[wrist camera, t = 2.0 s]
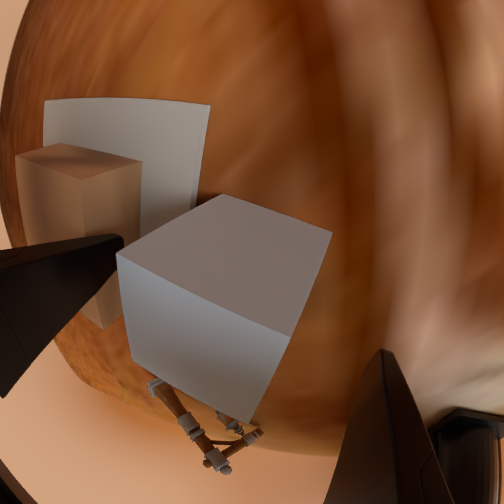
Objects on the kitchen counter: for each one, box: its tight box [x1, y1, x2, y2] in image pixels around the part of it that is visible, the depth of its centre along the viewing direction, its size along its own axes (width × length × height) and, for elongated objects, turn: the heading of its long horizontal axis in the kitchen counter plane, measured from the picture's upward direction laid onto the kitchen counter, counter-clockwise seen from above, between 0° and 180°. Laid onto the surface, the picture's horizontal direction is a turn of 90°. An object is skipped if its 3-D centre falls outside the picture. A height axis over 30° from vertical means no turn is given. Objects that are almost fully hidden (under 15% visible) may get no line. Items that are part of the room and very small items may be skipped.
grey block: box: [116, 194, 333, 425], centre depth 8 cm, size 4×4×5 cm
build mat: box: [43, 98, 211, 315], centre depth 13 cm, size 12×12×1 cm
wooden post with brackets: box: [147, 378, 264, 475], centre depth 16 cm, size 2×8×4 cm, turn 78°
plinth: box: [15, 143, 143, 330], centre depth 11 cm, size 7×7×3 cm
